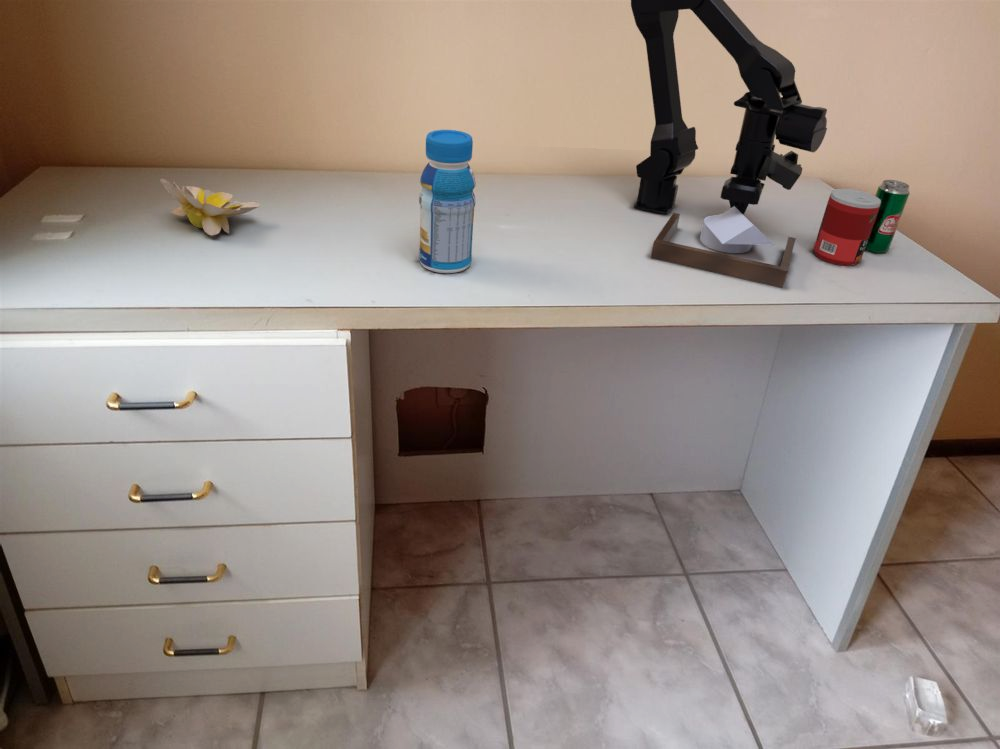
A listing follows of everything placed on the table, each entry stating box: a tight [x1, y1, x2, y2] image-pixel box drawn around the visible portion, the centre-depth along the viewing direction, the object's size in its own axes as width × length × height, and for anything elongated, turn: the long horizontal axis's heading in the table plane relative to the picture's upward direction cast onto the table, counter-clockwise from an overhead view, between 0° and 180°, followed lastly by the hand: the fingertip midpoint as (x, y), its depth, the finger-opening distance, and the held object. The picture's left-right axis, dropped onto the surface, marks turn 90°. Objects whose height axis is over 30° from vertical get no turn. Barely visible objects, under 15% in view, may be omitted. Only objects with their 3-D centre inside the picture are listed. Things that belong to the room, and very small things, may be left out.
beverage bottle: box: [418, 129, 477, 274], centre depth 117 cm, size 8×8×20 cm
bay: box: [650, 212, 797, 288], centre depth 132 cm, size 21×15×3 cm
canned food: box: [813, 188, 881, 267], centre depth 132 cm, size 8×8×11 cm
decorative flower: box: [159, 178, 261, 236], centre depth 126 cm, size 15×11×10 cm
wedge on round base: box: [699, 206, 775, 254], centre depth 134 cm, size 9×7×13 cm
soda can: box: [864, 179, 910, 254], centre depth 137 cm, size 5×5×12 cm
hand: (736, 223), depth 141 cm, fingers closed
